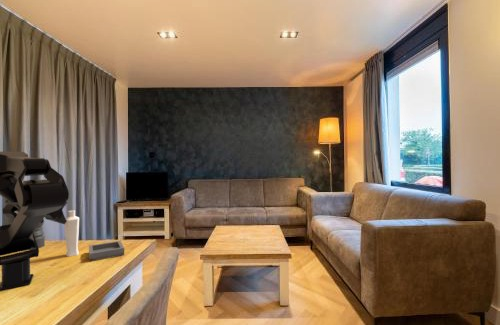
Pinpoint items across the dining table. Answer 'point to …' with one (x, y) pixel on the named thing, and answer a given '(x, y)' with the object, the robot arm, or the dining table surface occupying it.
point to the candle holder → (38, 232)
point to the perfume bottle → (72, 233)
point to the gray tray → (106, 250)
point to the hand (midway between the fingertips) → (53, 222)
